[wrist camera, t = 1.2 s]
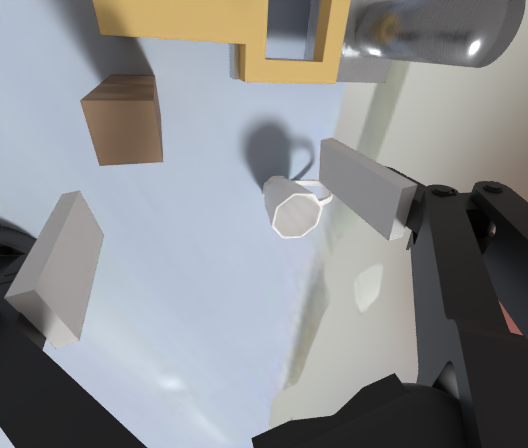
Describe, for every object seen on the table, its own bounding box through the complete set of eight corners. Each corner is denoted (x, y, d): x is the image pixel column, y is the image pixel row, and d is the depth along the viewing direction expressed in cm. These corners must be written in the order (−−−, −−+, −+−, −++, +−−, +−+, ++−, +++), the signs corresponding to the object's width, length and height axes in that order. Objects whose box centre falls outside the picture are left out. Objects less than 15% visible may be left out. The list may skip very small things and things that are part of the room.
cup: (248, 175, 37) (266, 203, 31) (313, 153, 39) (343, 176, 32) (258, 215, 42) (276, 247, 35) (317, 194, 43) (344, 221, 37)
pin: (121, 117, 29) (99, 165, 18) (111, 74, 27) (80, 100, 16) (160, 116, 30) (163, 162, 19) (154, 75, 28) (153, 100, 17)
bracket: (121, 69, 27) (110, 79, 20) (94, -60, 22) (69, -99, 15) (300, 74, 32) (335, 84, 26) (312, -27, 27) (358, -45, 21)
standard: (222, 72, 30) (281, 104, 15) (218, -41, 25) (302, -145, 10) (357, 76, 35) (495, 104, 20) (377, -17, 30) (578, -64, 16)
